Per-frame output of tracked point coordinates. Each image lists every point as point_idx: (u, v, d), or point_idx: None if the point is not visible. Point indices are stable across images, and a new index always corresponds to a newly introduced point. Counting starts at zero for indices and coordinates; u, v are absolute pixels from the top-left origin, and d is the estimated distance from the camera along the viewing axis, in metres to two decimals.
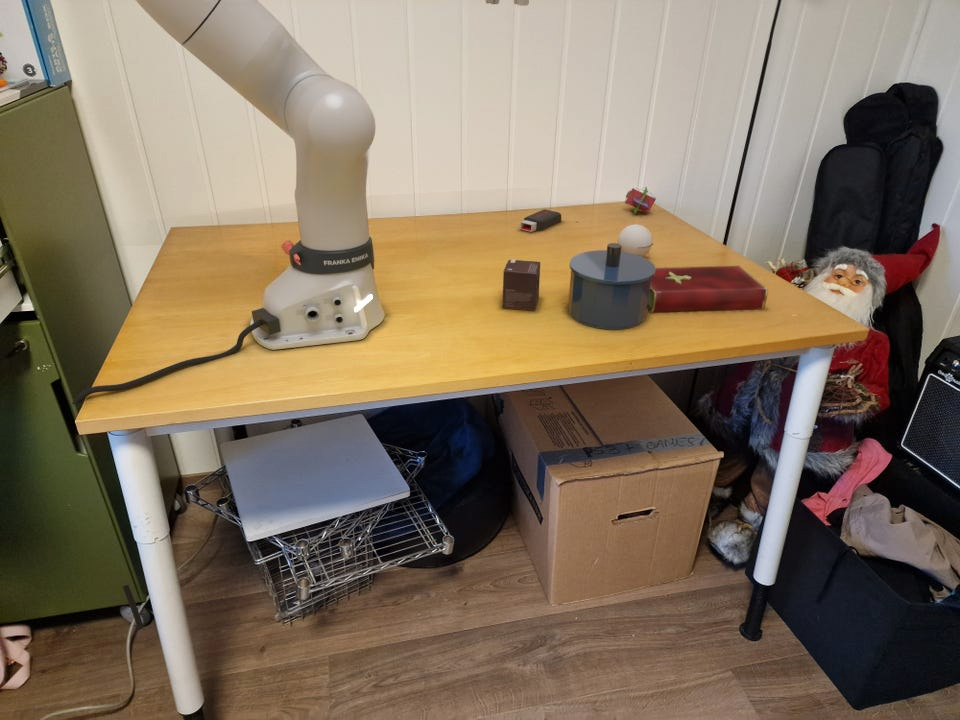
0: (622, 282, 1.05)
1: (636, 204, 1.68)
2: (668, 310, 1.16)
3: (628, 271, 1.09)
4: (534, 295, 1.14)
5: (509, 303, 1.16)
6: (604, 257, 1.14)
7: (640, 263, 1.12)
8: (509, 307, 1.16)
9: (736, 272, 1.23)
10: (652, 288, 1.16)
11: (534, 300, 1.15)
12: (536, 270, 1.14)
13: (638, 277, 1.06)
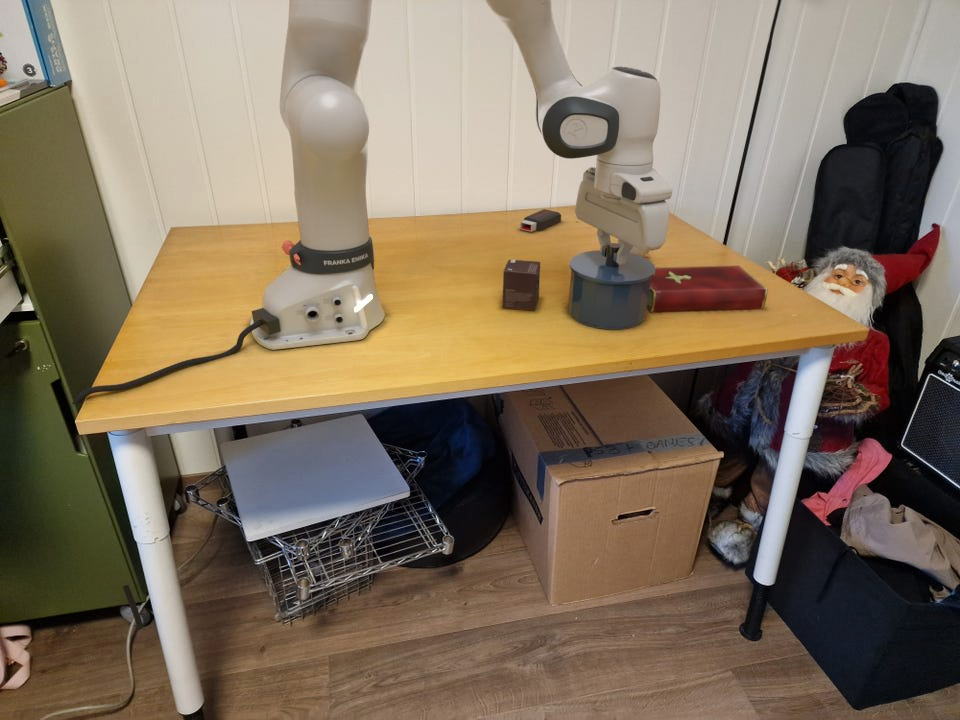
0: (622, 282, 1.05)
1: None
2: (668, 310, 1.16)
3: (628, 271, 1.09)
4: (534, 295, 1.14)
5: (509, 303, 1.16)
6: (604, 257, 1.14)
7: (640, 263, 1.12)
8: (509, 307, 1.16)
9: (736, 272, 1.23)
10: (652, 288, 1.16)
11: (534, 300, 1.15)
12: (536, 270, 1.14)
13: (638, 277, 1.06)
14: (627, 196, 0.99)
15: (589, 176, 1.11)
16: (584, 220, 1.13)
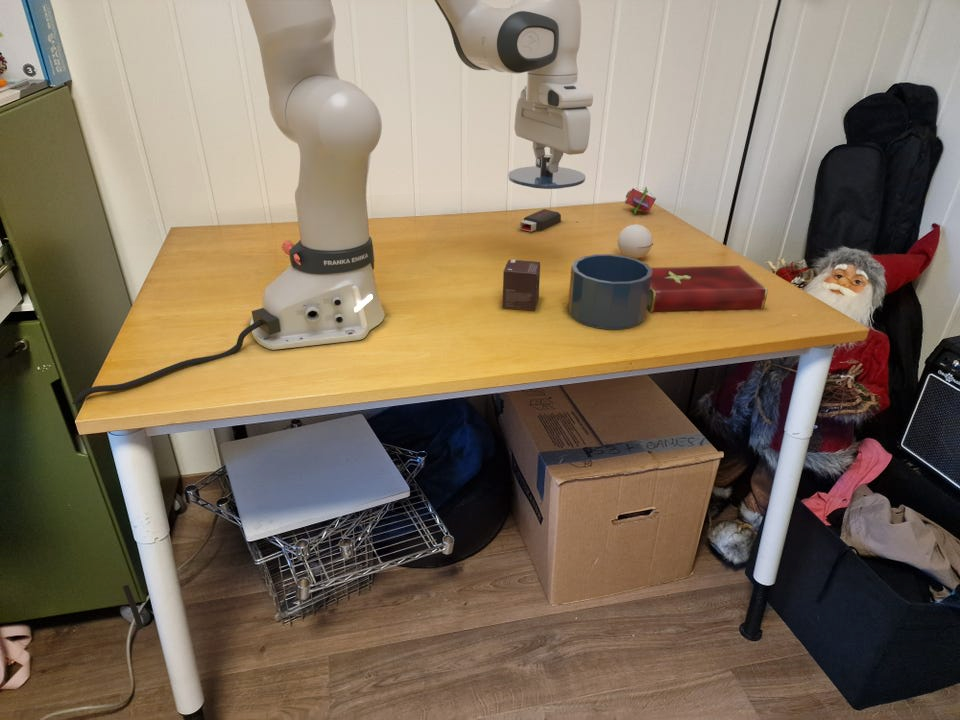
0: (552, 186, 1.16)
1: (636, 204, 1.68)
2: (667, 310, 1.16)
3: (559, 179, 1.20)
4: (534, 295, 1.14)
5: (509, 303, 1.16)
6: None
7: (572, 174, 1.23)
8: (509, 307, 1.16)
9: (736, 272, 1.23)
10: (651, 288, 1.16)
11: (534, 300, 1.15)
12: (536, 270, 1.14)
13: (567, 182, 1.17)
14: (552, 103, 1.10)
15: (525, 94, 1.22)
16: (521, 135, 1.24)
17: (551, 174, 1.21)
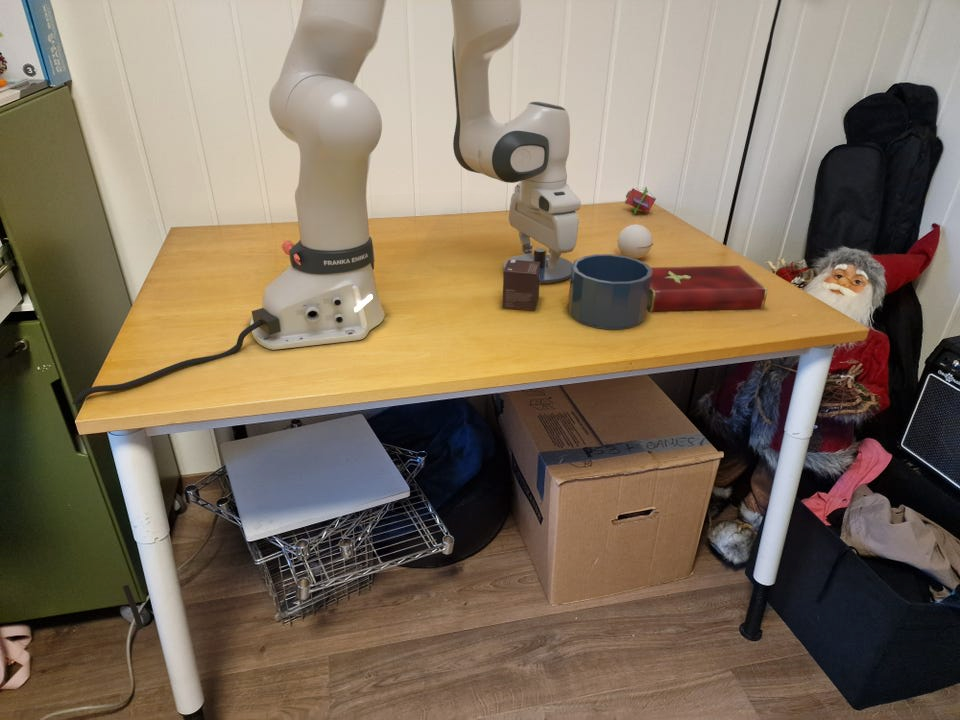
0: (544, 280, 1.26)
1: (636, 204, 1.68)
2: (667, 309, 1.16)
3: (551, 271, 1.29)
4: (534, 295, 1.14)
5: (509, 303, 1.16)
6: (534, 259, 1.35)
7: (563, 265, 1.33)
8: (509, 307, 1.16)
9: (736, 272, 1.23)
10: (651, 287, 1.16)
11: (534, 300, 1.15)
12: (536, 270, 1.14)
13: (558, 276, 1.27)
14: (543, 208, 1.19)
15: (519, 190, 1.31)
16: (515, 227, 1.33)
17: (543, 266, 1.31)
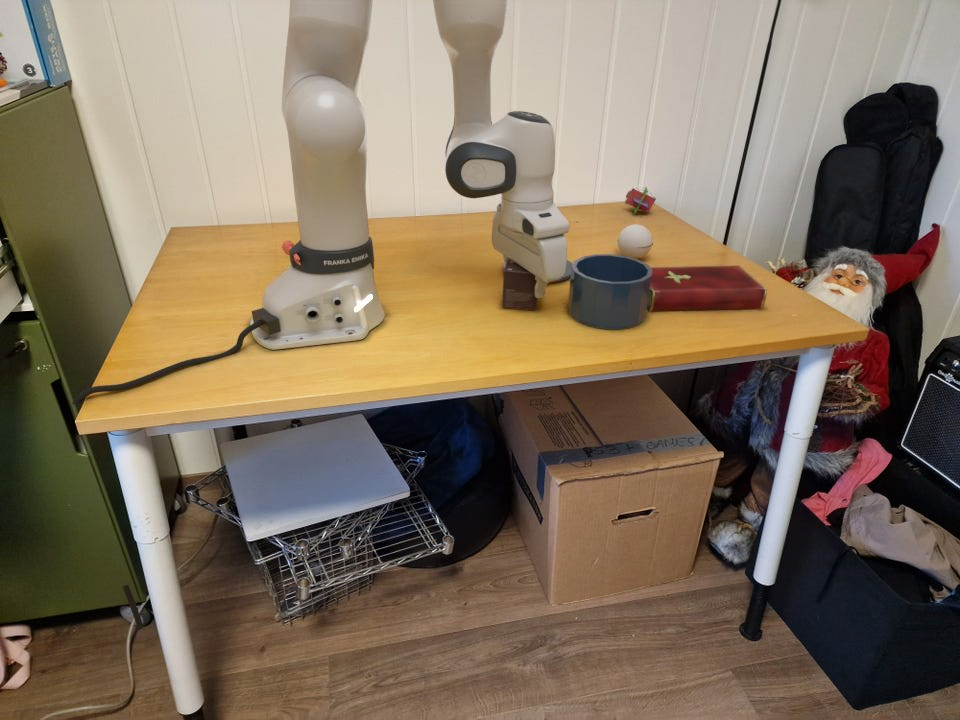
0: None
1: (636, 204, 1.68)
2: (667, 309, 1.16)
3: None
4: None
5: (509, 303, 1.16)
6: None
7: None
8: (509, 307, 1.16)
9: (736, 272, 1.23)
10: (651, 287, 1.16)
11: (534, 300, 1.15)
12: None
13: None
14: (527, 231, 1.06)
15: None
16: (499, 250, 1.20)
17: None
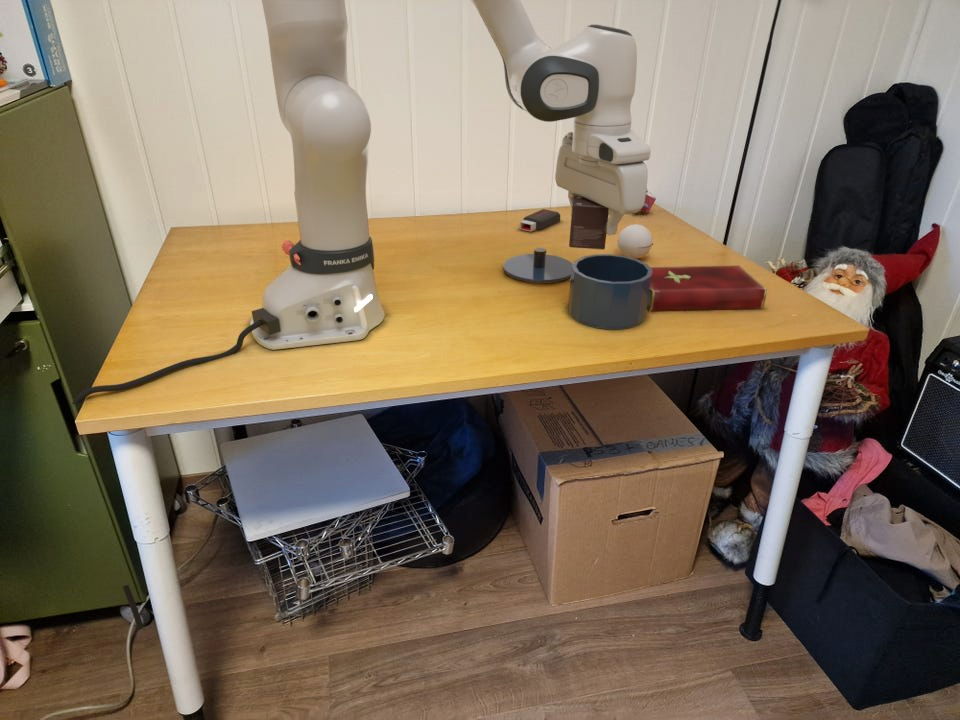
0: (544, 280, 1.26)
1: None
2: (666, 309, 1.16)
3: (551, 271, 1.29)
4: None
5: (577, 241, 1.07)
6: (534, 259, 1.35)
7: (563, 265, 1.33)
8: (576, 246, 1.08)
9: (735, 272, 1.23)
10: (651, 287, 1.16)
11: (604, 237, 1.06)
12: None
13: (558, 276, 1.27)
14: (604, 157, 0.97)
15: (568, 141, 1.09)
16: (564, 187, 1.11)
17: (543, 266, 1.31)
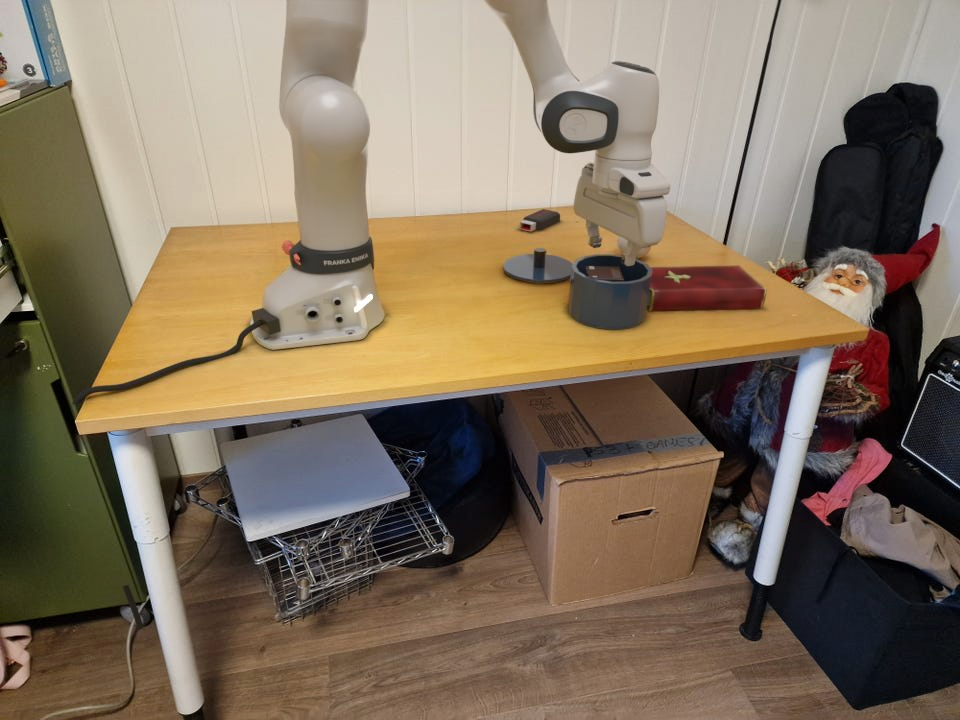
0: (544, 280, 1.26)
1: None
2: (666, 309, 1.16)
3: (551, 271, 1.29)
4: None
5: None
6: (534, 259, 1.35)
7: (563, 265, 1.33)
8: None
9: (735, 272, 1.23)
10: (650, 287, 1.16)
11: None
12: (621, 276, 1.10)
13: (558, 276, 1.27)
14: (625, 191, 0.99)
15: (587, 172, 1.11)
16: (582, 216, 1.13)
17: (543, 266, 1.31)
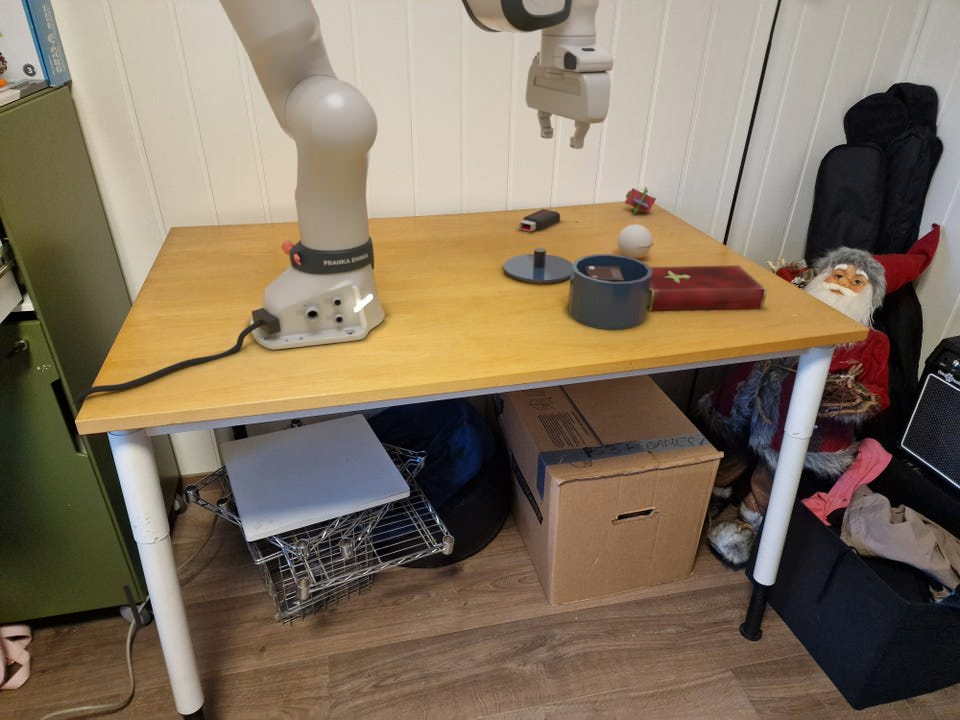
0: (544, 280, 1.26)
1: (636, 204, 1.68)
2: (666, 309, 1.16)
3: (551, 271, 1.29)
4: None
5: None
6: (534, 259, 1.35)
7: (563, 265, 1.33)
8: None
9: (735, 272, 1.23)
10: (650, 287, 1.16)
11: None
12: (621, 276, 1.10)
13: (558, 276, 1.27)
14: (569, 66, 1.00)
15: (537, 61, 1.12)
16: (533, 106, 1.14)
17: (543, 266, 1.31)
